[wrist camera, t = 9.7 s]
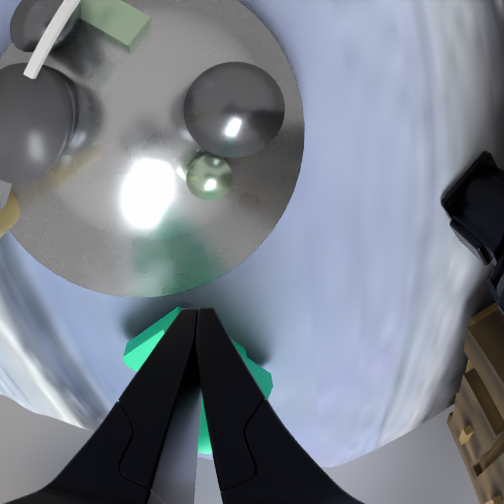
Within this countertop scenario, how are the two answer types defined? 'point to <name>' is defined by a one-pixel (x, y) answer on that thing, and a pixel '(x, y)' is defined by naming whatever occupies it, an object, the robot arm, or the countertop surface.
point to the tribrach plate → (160, 143)
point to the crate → (482, 406)
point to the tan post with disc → (32, 118)
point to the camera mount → (138, 354)
